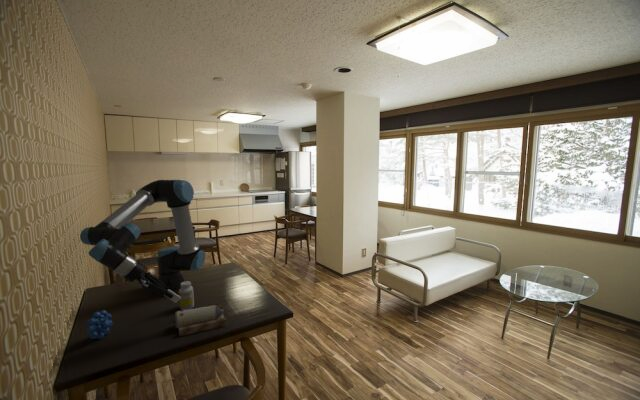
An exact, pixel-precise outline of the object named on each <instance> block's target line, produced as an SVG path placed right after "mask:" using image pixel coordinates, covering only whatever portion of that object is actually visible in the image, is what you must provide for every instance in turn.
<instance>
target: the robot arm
mask: <svg viewBox="0 0 640 400" xmlns="http://www.w3.org/2000/svg"><path fill="white" fill-rule="evenodd" d="M194 195H195V191H194V188H193V185H192V184H191V183H190V182H189V181H187V180H185V179H184V180H181V179H158V180H154V181H151V182H149V183H148V184H146V185H144V186H142V187H141V188H140V189H138V190H137V191H136V192H135V195H134V196H133V197H131V198H130V199H129V200H127V201H126V202H125V203H123V205H121V206H120V207H118V208H117V209H116V210H115V211H114V212H112V213H111V214H109V215H108V216H107V217H106V218H105V219H103V220H102V221H100V222H99V223H98V224H97V225H95V226H90V227H89V226H88V227H85V228H83V229H82V230H81V232H80V234H79V239H80V241H81V242H82V243H83V244H84V245H86V246H87V245H89V246H93V247H91V249H90V250H89V251H88V255H89V257H91V258H92V259H94V260H95V261H96V262H97V263H100V264H102V265H103V266H105V267H106V268H108V269H110V270H111V271H113V272H114V274H115V275H120V276H121V277H123V278H124V279H125V280H127V281H129V282H130V283H133V282H134V281H135V280H136V281H138V283H139V284H140V285H141V287H142V288H144V289H147V290H148V291H151V292H152V293H154V294H156V295H158V296H160V298H163V297H165V298H167V299H168V300H170V301H172V302H173V303H175V304H177V303H179V300H180V299H181V297H180V296H179V294H177V293H176V292H174V290H177V289H180V288H181V283H182V282H185V279H184V276H183V274H182V271H191V272H193V271H194V272H195V271H200V270H201V269H203V268H202V267H203V266H204V264H205V261H206V252H205V251H204V250H201V248H200V245H199V244H198V243H197V242H196V237H195V232H194V227H193V223H192V217H191V211H190V204H192V201H193V199H194V198H195V197H194ZM159 202H160V203H161V202H166V205H167V208H169V209H170V210H171V213H172V219H173V223H174V227H175V228H174V229H175V231H176V232H175V233H176V237H177V241H178V245H174V246H173V245H171V246H167V247H164V248H160V249H158V251H157V257H156V259H157V273H158V275H157V277H156V276H155V275H154V274H152V273H151V272H150V271H148V272H147V271H145V270H146V266H145V265H144V264H142V263H141V262H139V261H137V259H135V258H134V257H132V256H131V255H129V254H127V252H126V251H127V250H128V249H129V248H130V247H131V246H132V245H133V244H134V243H135V242H136V241H137V239H138V238H139V237H140V235H141V234H142V233H141V229H140V227H139V226H137V225H136V224H135V223H131V221H132V220H133V219H134V218H135V217H137V216H138V215H139V214H140V213H142V211H144V210H145V209H146V208H147V207H151V206H152V205H153V204H155V203H159Z"/></svg>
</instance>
